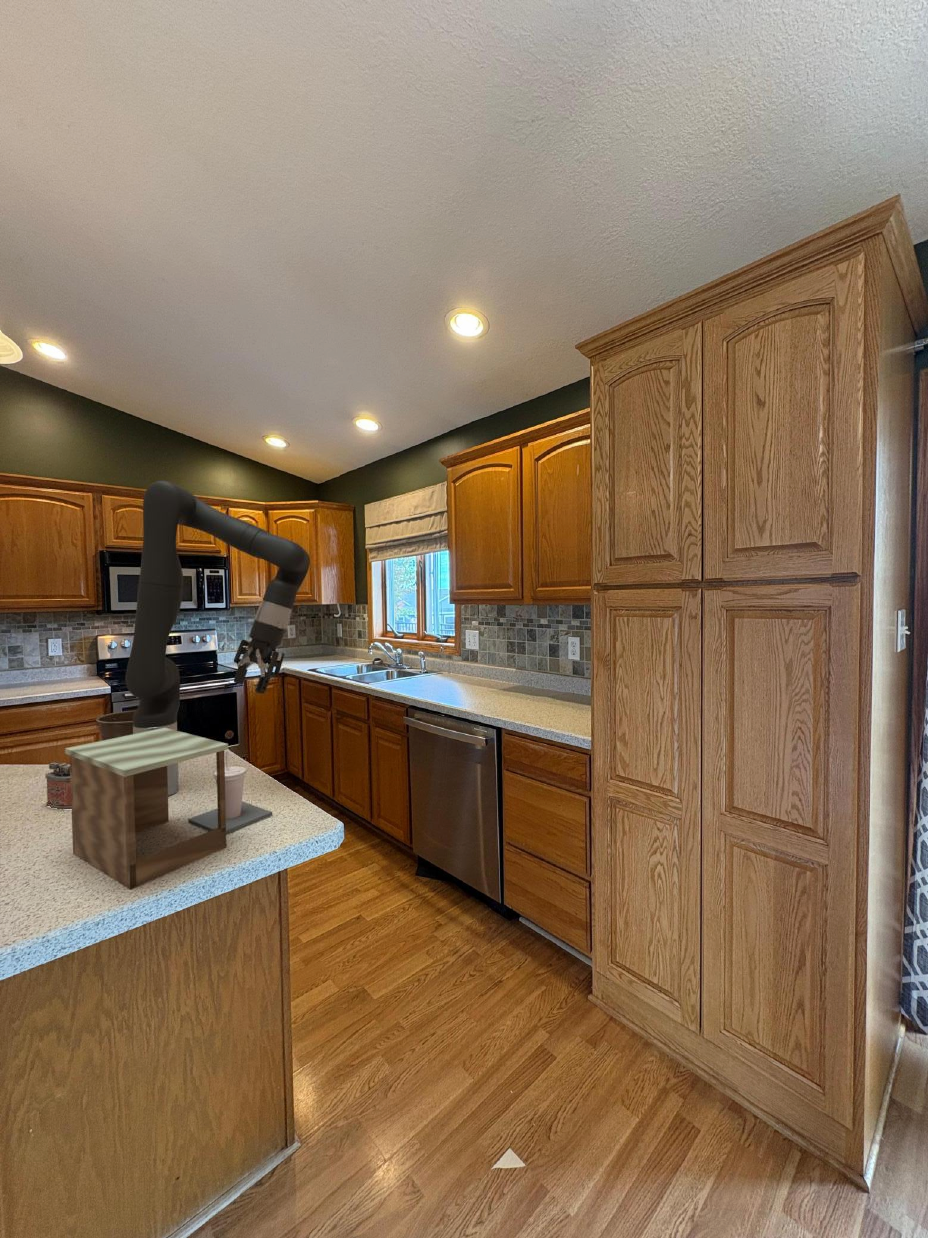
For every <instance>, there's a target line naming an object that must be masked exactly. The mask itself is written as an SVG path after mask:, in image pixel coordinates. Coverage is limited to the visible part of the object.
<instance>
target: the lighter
mask: <svg viewBox="0 0 928 1238" xmlns="http://www.w3.org/2000/svg"><path fill="white" fill-rule="evenodd" d="M48 769H49V770H52V771H49V772H47V773H45V779H46V793H47V794H46V796H47V799H46V801H47V802H46V803H45V804H46V807H47V806H50V807H51V808H57V809H71V780H70V764H69V765H68V763H67V762H63V763H59V762H50V763H49V765H48ZM51 808H50V809H51Z"/></svg>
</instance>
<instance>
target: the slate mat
mask: <svg viewBox="0 0 928 1238" xmlns="http://www.w3.org/2000/svg"><path fill="white" fill-rule="evenodd" d="M272 816H273V811H271V810H268V809H265V808H262V807H259V806H257V805H253V804H251V803H248V802H245V801H243V800H242V804H241V813H240V815H239V816H238V817H235V818H231V819H226V836H227V835H230V834H231V833H233V832H235V831H238V830H239V831H240V830H241V829H243V828H246V827H249V826H250V825H252V824H253V825H254V824H256V823H258V822H260V821H263V820H265V819H267V818H270V817H272ZM187 823H188V824H190V825H192V826H194V827H195V826H196V827H198V828H199V829H202V830H205V831H206V832H208V831H211V830H213V829H216V828H218V807H217V808H215V809H212V810H209V811H206V812H203V813H201V814H198V815H195V816H193V817H189V818H187Z"/></svg>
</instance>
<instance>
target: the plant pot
mask: <svg viewBox="0 0 928 1238" xmlns="http://www.w3.org/2000/svg"><path fill="white" fill-rule="evenodd" d="M136 710H137V709H134V710H125V711H118V712H112V713H107V714H105V715H100V716H98V717H97V718H96V719H95V720H96V723H98V728H99V734H100V735H101V739H102V740H101V741H103V740H108V739H113V738H118V737H122V736H127V735H132V734H133V715H134V713H135V711H136Z"/></svg>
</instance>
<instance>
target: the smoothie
mask: <svg viewBox="0 0 928 1238" xmlns="http://www.w3.org/2000/svg"><path fill="white" fill-rule="evenodd" d="M229 755H230V754H229V750H225V805H226V819H231V818H235V817H238V816H239V815H240V813H241V804H242V801H243V796H244V795H243V793H244V784H245V776H247V768H245V767H243V766H230V763H229V762H230V759H229V758H230V757H229ZM213 779H214V780H215V783H216V784H215V785H217V770H216V771H215V772H214V773H213Z"/></svg>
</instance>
